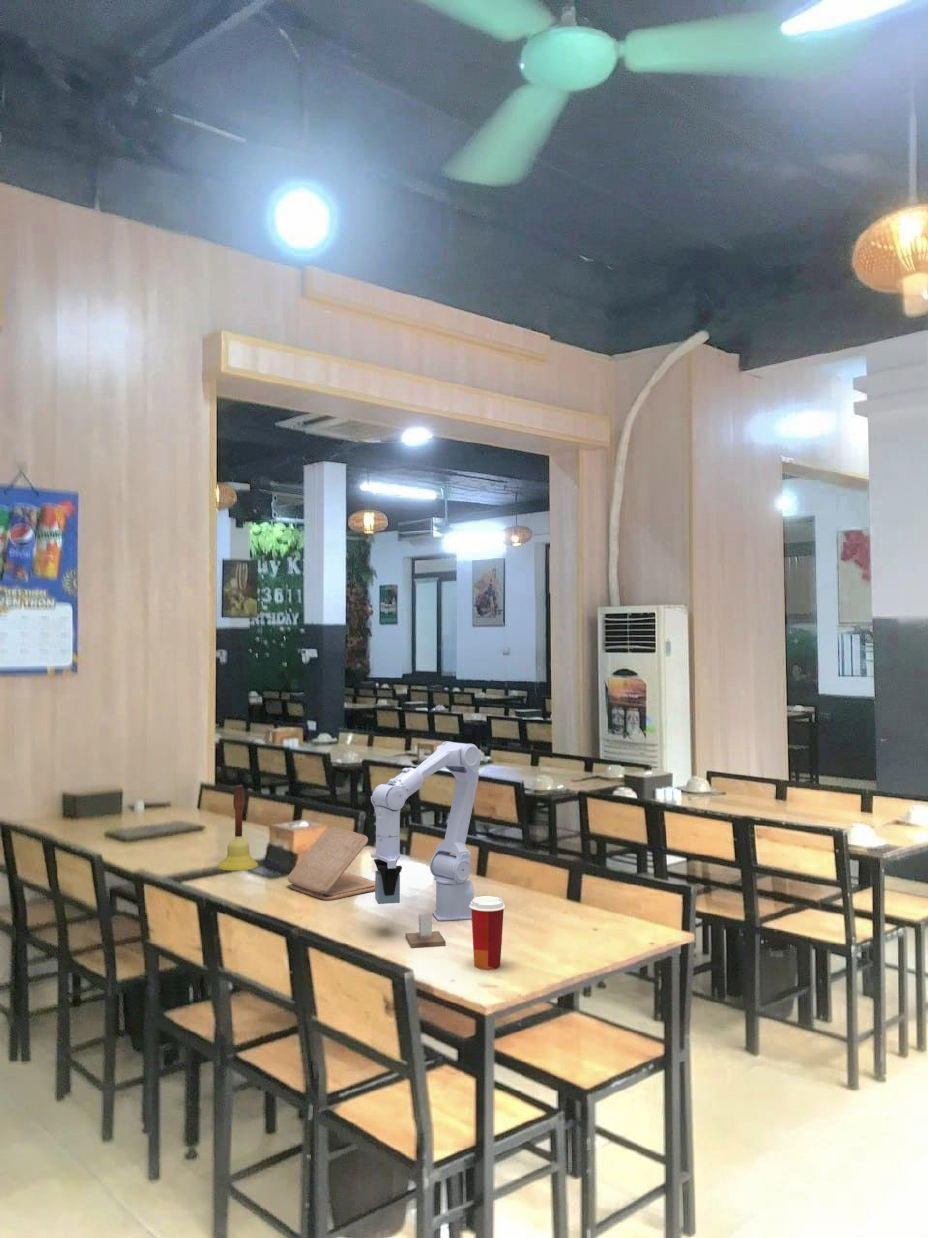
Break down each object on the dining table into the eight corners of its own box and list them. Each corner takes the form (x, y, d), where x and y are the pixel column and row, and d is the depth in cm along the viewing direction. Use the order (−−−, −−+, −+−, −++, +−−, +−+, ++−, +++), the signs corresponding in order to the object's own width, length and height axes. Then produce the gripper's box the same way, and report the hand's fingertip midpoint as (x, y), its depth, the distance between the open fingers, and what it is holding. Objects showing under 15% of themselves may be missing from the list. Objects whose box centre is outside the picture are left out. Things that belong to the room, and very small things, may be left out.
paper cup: (503, 959, 212) (503, 895, 212) (506, 971, 204) (506, 905, 204) (468, 959, 211) (468, 895, 212) (469, 971, 204) (469, 905, 204)
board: (438, 935, 229) (438, 931, 229) (445, 945, 221) (445, 941, 221) (405, 937, 227) (405, 933, 227) (411, 948, 219) (411, 943, 219)
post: (429, 935, 226) (429, 913, 226) (431, 938, 223) (431, 917, 223) (418, 936, 225) (418, 914, 225) (420, 939, 223) (420, 917, 223)
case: (284, 888, 273) (284, 831, 273) (345, 876, 287) (346, 822, 287) (323, 904, 258) (324, 844, 258) (386, 890, 272) (387, 833, 272)
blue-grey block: (396, 897, 233) (396, 869, 233) (399, 903, 228) (399, 875, 228) (375, 898, 232) (375, 871, 232) (378, 904, 227) (378, 876, 227)
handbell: (216, 862, 303) (217, 783, 304) (256, 860, 307) (257, 781, 308) (218, 871, 292) (219, 789, 292) (260, 869, 295) (261, 787, 296)
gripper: (367, 830, 237) (367, 885, 236) (375, 842, 223) (374, 901, 222) (395, 829, 238) (395, 884, 238) (405, 840, 224) (404, 899, 224)
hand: (387, 892), depth 230 cm, fingers closed on blue-grey block, 5 cm apart
